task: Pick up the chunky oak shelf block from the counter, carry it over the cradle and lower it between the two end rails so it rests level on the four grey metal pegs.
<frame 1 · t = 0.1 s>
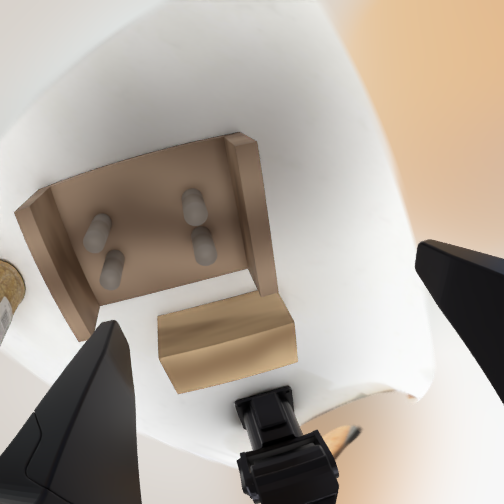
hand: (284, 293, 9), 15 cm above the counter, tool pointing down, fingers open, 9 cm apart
sprinkles bottle: (4, 281, 21), on the counter
peg cradle: (151, 225, 22), on the counter
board: (221, 320, 27), on the counter
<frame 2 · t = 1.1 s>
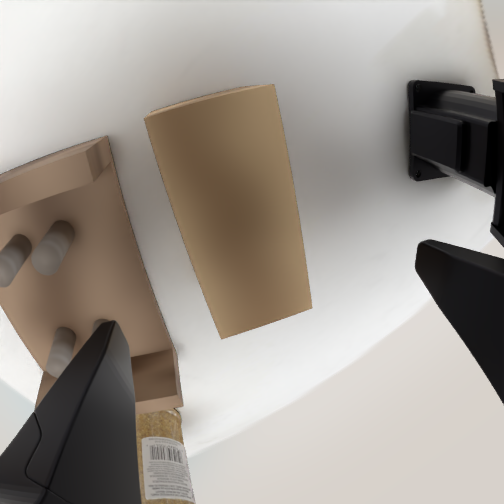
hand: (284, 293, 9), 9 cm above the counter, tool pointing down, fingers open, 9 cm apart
sprinkles bottle: (154, 414, 24), on the counter
peg cradle: (65, 283, 16), on the counter
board: (221, 191, 17), on the counter
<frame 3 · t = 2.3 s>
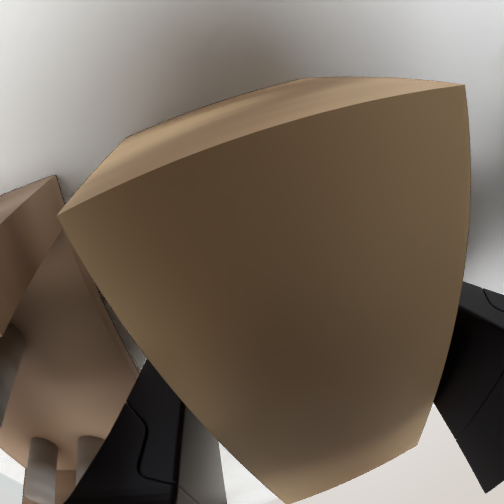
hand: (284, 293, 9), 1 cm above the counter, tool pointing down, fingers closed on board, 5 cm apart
peg cradle: (30, 391, 9), on the counter
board: (271, 273, 9), on the counter, touching gripper
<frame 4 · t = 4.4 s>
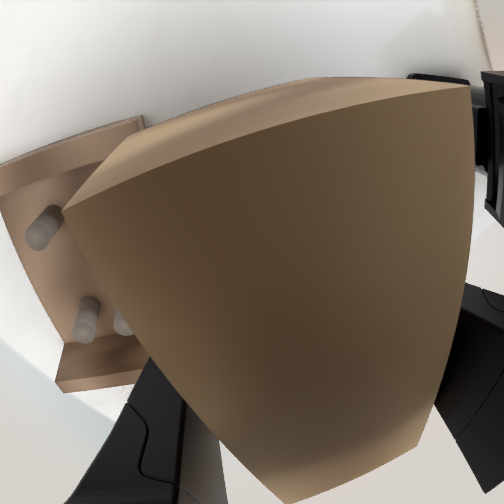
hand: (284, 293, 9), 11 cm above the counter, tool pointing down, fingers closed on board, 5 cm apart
peg cradle: (93, 253, 18), on the counter
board: (273, 273, 9), point 10 cm above the counter, touching gripper
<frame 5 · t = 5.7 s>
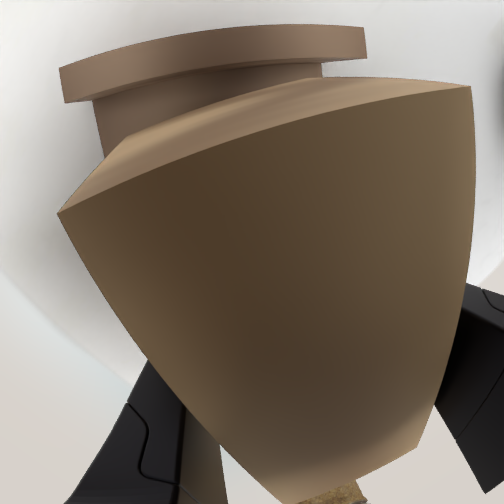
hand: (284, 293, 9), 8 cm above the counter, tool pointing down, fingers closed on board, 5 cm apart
sprinkles bottle: (273, 378, 22), on the counter
peg cradle: (228, 199, 15), on the counter
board: (272, 274, 9), point 7 cm above the counter, touching gripper
when the fingers open (6 cm above the counter, at t = 6.6 s): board stays where it is, resting on peg cradle.
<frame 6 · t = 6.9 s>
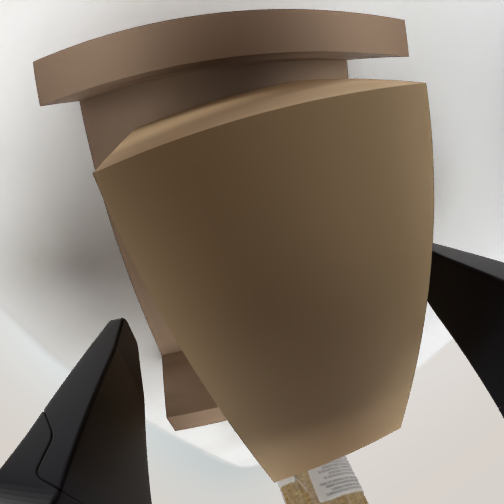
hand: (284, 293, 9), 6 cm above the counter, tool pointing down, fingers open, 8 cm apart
sprinkles bottle: (283, 400, 21), on the counter
peg cradle: (239, 216, 13), on the counter
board: (263, 257, 10), point 4 cm above the counter, touching peg cradle
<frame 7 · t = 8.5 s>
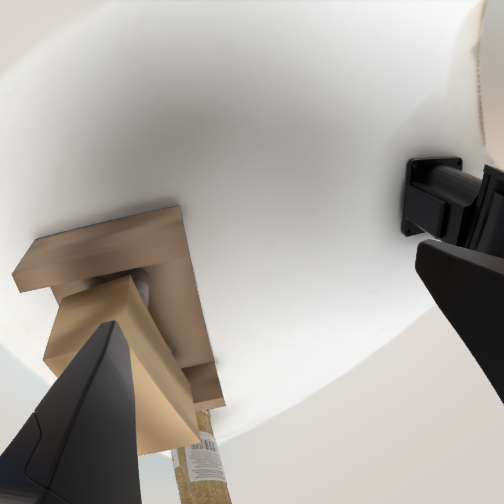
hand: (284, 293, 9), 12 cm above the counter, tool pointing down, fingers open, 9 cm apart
sprinkles bottle: (187, 413, 29), on the counter
peg cradle: (132, 313, 22), on the counter
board: (131, 348, 19), point 4 cm above the counter, touching peg cradle
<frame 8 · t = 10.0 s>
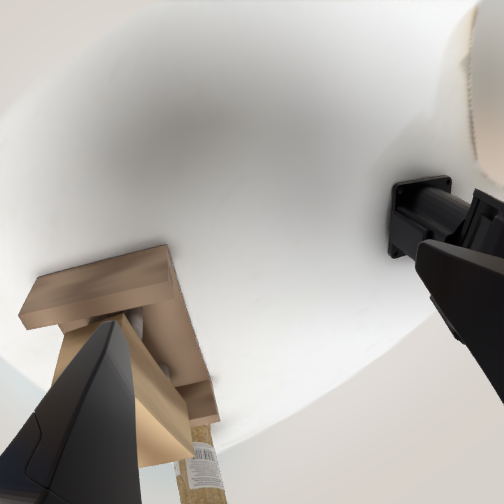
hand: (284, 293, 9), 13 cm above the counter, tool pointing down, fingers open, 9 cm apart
sprinkles bottle: (189, 424, 31), on the counter
peg cradle: (131, 339, 23), on the counter
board: (130, 373, 20), point 4 cm above the counter, touching peg cradle
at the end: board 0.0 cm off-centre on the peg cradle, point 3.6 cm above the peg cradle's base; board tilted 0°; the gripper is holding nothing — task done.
